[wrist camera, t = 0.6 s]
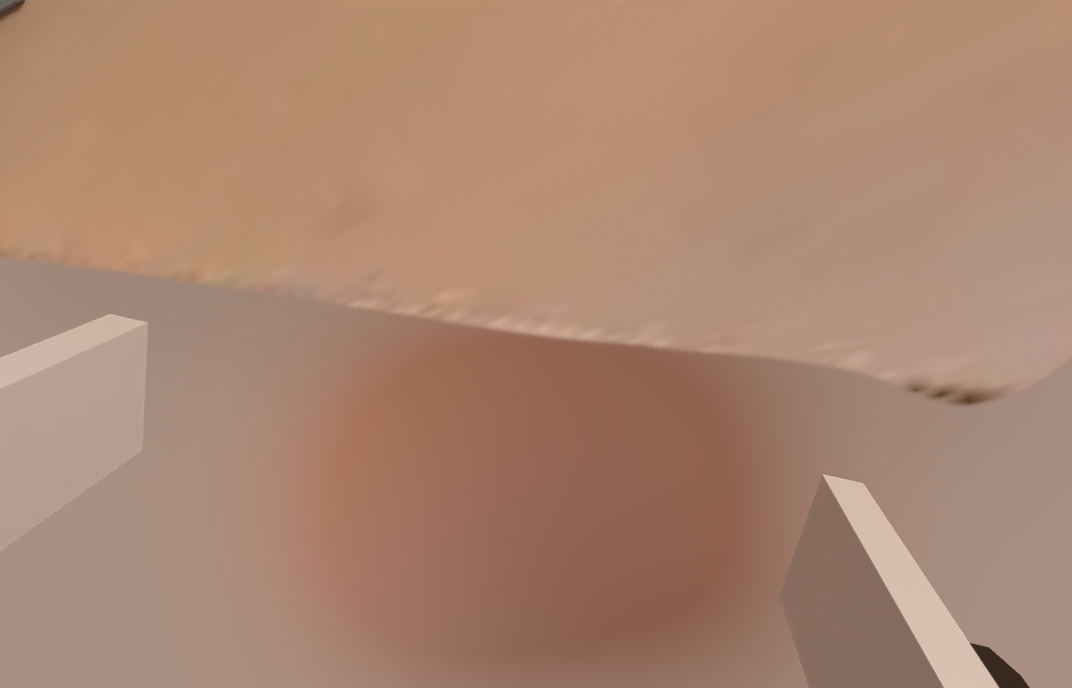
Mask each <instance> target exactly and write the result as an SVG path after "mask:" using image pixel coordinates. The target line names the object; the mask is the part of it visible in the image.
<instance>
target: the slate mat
mask: <svg viewBox="0 0 1072 688" xmlns="http://www.w3.org/2000/svg"><path fill="white" fill-rule="evenodd" d="M23 1H24V0H0V13H2V12H4V11H6V10H8V9H9V8H11V7H13V6H15V5H17V4H19V3H21V2H23Z"/></svg>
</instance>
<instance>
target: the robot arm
mask: <svg viewBox="0 0 1072 688" xmlns="http://www.w3.org/2000/svg"><path fill="white" fill-rule="evenodd" d="M147 334H148V322H143V321H139V320H134V319H130V318H126V317H121V316H117V315H112V314H109V315H107V316H104V317H102V318H99V319H96V320H94V321H91V322H89V323H86V324H84V325H81V326H79V327H76V328H74V329H71V330H69V331H66V332H64V333H62V334H59V335H56V336H54V337H51V338H49V339H47V340H44V341H41V342H39V343H36V344H34V345H31V346H29V347H26V348H24V349H21V350H18V351H16V352H14V353H11V354H8V355H6V356H3V357H1V358H0V551H2V550H3V549H4V548H6V547H7V546H9V545H10V544H11V543H13V542H14V541H16V540H17V539H18V538H20V537H21V536H23V535H24V534H25V533H27V532H28V531H30V530H31V529H32V528H34V527H35V526H37V525H38V524H39V523H41V522H42V521H44V520H45V519H46V518H48V517H49V516H50V515H52V514H53V513H55V512H56V511H57V510H59V509H60V508H62V507H63V506H65V505H66V504H67V503H69V502H70V501H72V500H73V499H75V498H76V497H77V496H78V495H80V494H82V493H83V492H84V491H86V490H87V489H89V488H90V487H91V486H93V485H94V484H96V483H97V482H98V481H100V480H101V479H102V478H104V477H105V476H107V475H108V474H110V473H111V472H112V471H114V470H115V469H117V468H118V467H119V466H121V465H122V464H123V463H125V462H126V461H128V460H129V459H130V458H132V457H133V456H135V455H136V454H138V453H139V452H140V451H142V450H143V427H144V404H145V403H144V402H145V381H146V380H145V379H146V357H147ZM779 599H780V602H781V604H782V607H783V610H784V613H785V616H786V619H787V622H788V625H789V628H790V631H791V634H792V637H793V640H794V643H795V646H796V649H797V652H798V655H799V658H800V661H801V664H802V667H803V670H804V673H805V676H806V679H807V682H808V685H809V688H1029V686H1028V685H1027V684H1026V682H1025V681H1024V679H1023V678H1022V677H1021V676H1020V674H1018V673H1017V672H1016V671H1015V670H1014V669H1013V668H1012V667H1010V666H1009V665H1008V664H1007V663H1006V662H1005V661H1004V660H1002V659H1001V658H1000V657H999V656H998V655H997V654H996V653H994V652H993V651H992V650H991V649H990V648H989V647H984V646H980V645H976V644H972V643H969V642H968V640H967V639H966V637H965V636H964V634H963V633H962V631H961V630H960V628H959V627H958V625H957V624H956V622H955V621H954V619H953V618H952V616H951V615H950V613H949V612H948V610H947V609H946V607H945V606H944V604H943V603H942V601H941V600H940V598H939V597H938V595H937V594H936V592H935V591H934V589H933V588H932V586H931V585H930V583H929V582H928V580H927V579H926V577H925V576H924V574H923V573H922V571H921V570H920V568H919V567H918V565H917V564H916V562H915V561H914V559H913V558H912V556H911V555H910V553H909V552H908V550H907V549H906V547H905V546H904V544H903V543H902V541H901V540H900V538H899V537H898V535H897V534H896V532H895V531H894V529H893V528H892V526H891V525H890V523H889V522H888V521H887V519H886V517H885V516H884V514H883V513H882V511H881V510H880V508H879V507H878V505H877V504H876V502H875V501H874V499H873V498H872V496H871V495H870V493H869V491H868V490H867V489H866V487H865V485H864V484H863V483H859V482H855V481H850V480H846V479H842V478H837V477H832V476H828V475H823V474H822V476H821V480H820V482H819V485H818V488H817V491H816V494H815V496H814V499H813V502H812V505H811V508H810V511H809V514H808V517H807V520H806V522H805V525H804V528H803V531H802V534H801V536H800V539H799V542H798V545H797V548H796V550H795V553H794V556H793V559H792V562H791V565H790V568H789V570H788V573H787V576H786V579H785V582H784V585H783V588H782V591H781V593H780V596H779Z"/></svg>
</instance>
